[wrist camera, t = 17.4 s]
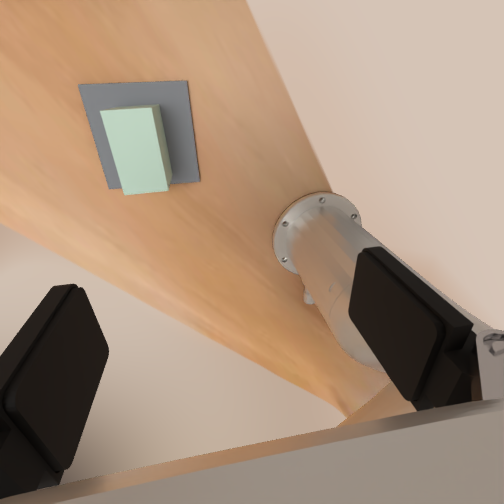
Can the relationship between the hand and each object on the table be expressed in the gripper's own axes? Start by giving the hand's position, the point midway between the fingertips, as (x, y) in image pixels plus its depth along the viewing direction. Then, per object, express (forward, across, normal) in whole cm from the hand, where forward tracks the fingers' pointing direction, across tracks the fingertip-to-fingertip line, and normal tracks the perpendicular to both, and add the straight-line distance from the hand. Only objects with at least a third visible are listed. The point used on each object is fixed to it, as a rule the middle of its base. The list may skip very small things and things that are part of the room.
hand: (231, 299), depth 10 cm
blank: (+25, +6, -2) cm, 26 cm away
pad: (+26, +6, -2) cm, 26 cm away
